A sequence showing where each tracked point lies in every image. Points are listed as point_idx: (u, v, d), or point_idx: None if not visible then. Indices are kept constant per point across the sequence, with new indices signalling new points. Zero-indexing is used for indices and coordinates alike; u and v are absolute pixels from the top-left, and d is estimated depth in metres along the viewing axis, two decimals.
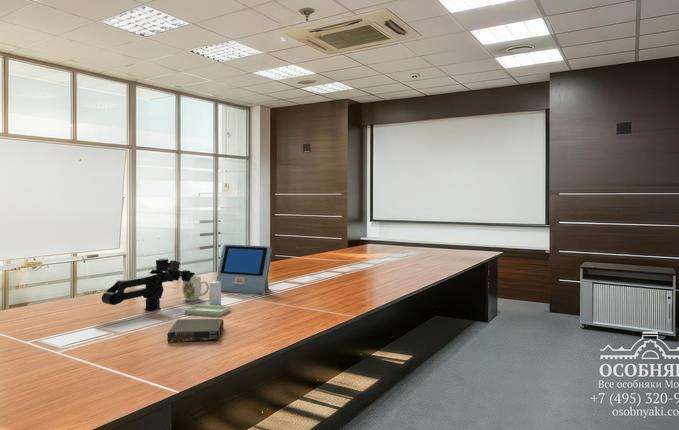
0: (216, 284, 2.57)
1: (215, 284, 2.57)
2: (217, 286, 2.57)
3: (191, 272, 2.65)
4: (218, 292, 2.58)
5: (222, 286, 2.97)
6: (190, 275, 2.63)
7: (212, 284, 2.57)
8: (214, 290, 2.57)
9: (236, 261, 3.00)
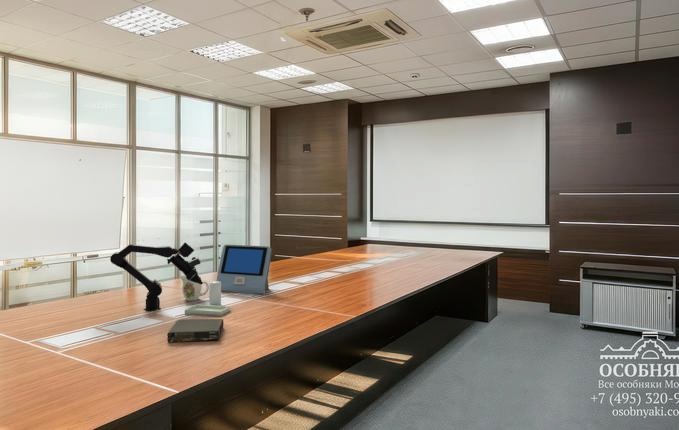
0: (216, 284, 2.57)
1: (215, 284, 2.57)
2: (217, 286, 2.57)
3: (199, 279, 2.51)
4: (218, 292, 2.58)
5: (222, 286, 2.98)
6: (196, 279, 2.50)
7: (212, 284, 2.57)
8: (214, 290, 2.57)
9: (236, 261, 3.00)
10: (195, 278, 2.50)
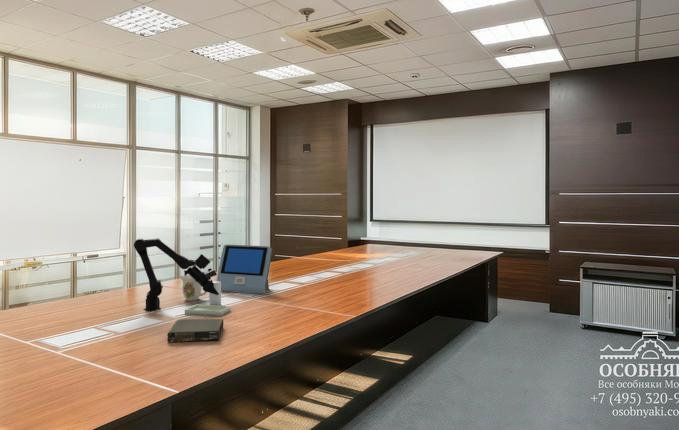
0: (216, 284, 2.57)
1: (215, 284, 2.57)
2: (217, 286, 2.57)
3: (215, 289, 2.56)
4: (218, 292, 2.58)
5: (222, 286, 2.98)
6: (212, 290, 2.55)
7: None
8: None
9: (236, 261, 3.00)
10: (211, 289, 2.55)
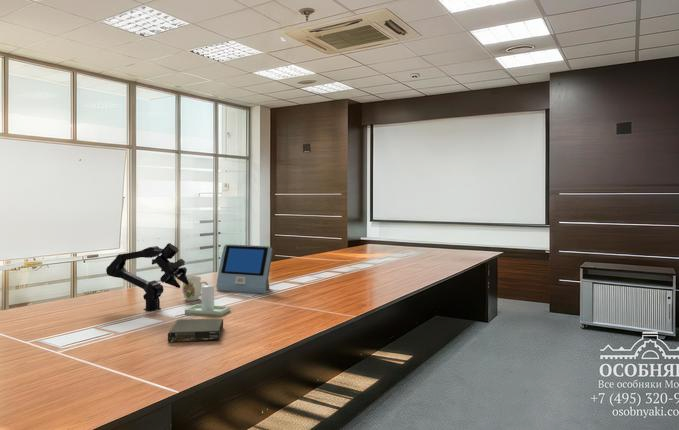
0: (205, 288, 2.40)
1: (204, 288, 2.40)
2: (206, 290, 2.40)
3: (176, 282, 2.40)
4: (208, 297, 2.40)
5: (223, 286, 2.98)
6: (173, 282, 2.40)
7: (202, 288, 2.41)
8: (203, 294, 2.40)
9: (237, 261, 3.01)
10: (172, 281, 2.40)
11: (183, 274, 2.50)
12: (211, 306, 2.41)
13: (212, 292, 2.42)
